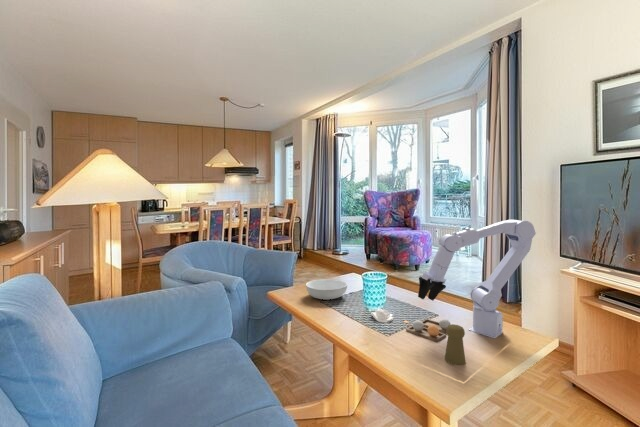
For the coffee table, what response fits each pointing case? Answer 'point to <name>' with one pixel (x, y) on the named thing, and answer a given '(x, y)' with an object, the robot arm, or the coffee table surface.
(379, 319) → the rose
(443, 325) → the grey ball
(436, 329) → the ball terracotta
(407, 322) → the card
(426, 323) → the trough
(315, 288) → the serving bowl
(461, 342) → the olive knobbed tapered post
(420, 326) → the grey ball
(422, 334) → the trough
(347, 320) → the coffee table surface
